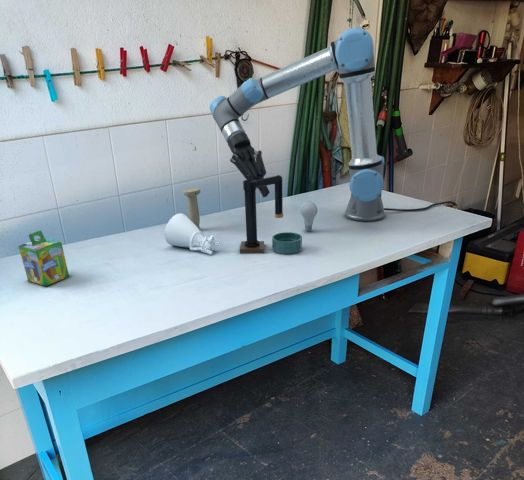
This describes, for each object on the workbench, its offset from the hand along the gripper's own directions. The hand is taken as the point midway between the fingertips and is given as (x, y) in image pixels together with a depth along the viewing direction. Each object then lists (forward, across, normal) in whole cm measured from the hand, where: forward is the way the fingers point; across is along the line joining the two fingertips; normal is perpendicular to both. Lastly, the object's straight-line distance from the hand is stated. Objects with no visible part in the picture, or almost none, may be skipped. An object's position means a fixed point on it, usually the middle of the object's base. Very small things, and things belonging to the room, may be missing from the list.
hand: (266, 194), depth 183 cm
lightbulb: (+15, -15, -7) cm, 22 cm away
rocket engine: (+6, +28, -16) cm, 33 cm away
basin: (+21, +3, 0) cm, 22 cm away
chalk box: (+1, +75, -21) cm, 78 cm away
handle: (-7, +15, -29) cm, 33 cm away
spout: (+9, +6, 0) cm, 11 cm away
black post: (+16, +12, -6) cm, 20 cm away
